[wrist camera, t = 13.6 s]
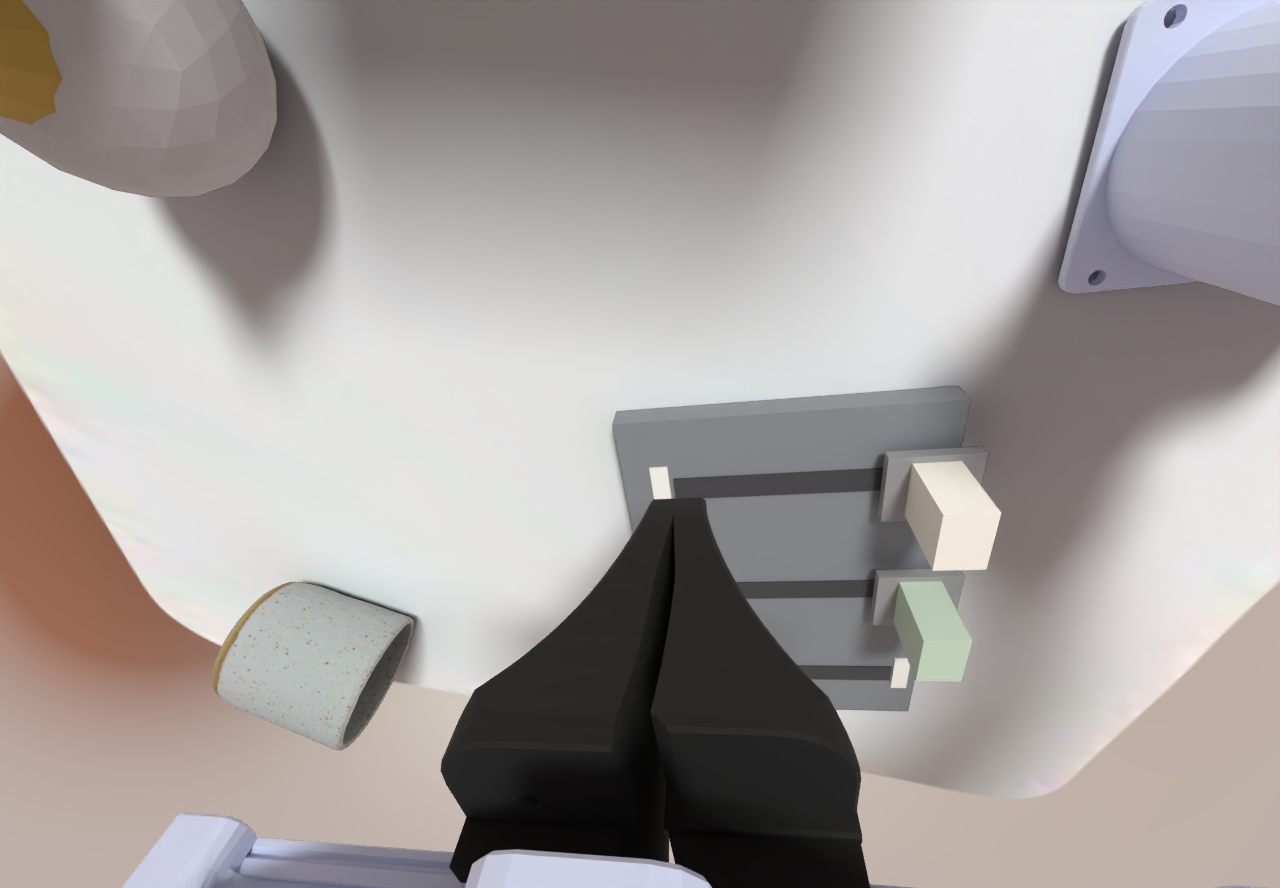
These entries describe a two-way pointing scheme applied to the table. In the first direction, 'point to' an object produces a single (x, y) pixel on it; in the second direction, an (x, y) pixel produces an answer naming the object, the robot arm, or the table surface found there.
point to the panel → (801, 515)
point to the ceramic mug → (312, 661)
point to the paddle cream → (942, 504)
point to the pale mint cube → (924, 619)
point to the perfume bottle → (138, 91)
